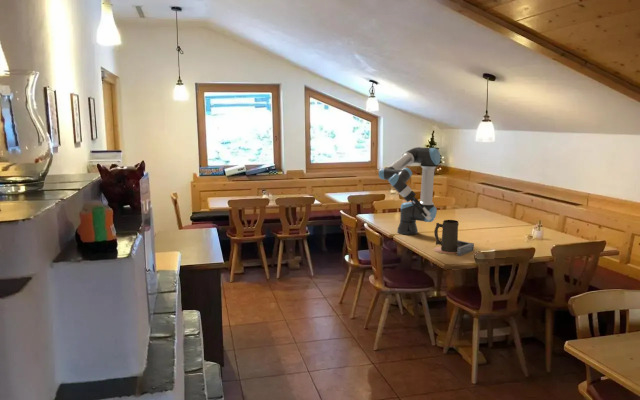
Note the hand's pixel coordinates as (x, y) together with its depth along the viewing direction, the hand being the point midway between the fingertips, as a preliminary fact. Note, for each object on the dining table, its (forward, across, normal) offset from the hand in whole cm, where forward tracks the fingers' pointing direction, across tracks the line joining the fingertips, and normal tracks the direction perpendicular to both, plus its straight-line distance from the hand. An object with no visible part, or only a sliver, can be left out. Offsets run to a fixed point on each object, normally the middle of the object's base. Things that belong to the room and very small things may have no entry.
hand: (429, 217), depth 333 cm
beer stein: (+23, +1, -7) cm, 24 cm away
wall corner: (+26, -1, -4) cm, 27 cm away
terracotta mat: (+23, +1, -7) cm, 24 cm away
